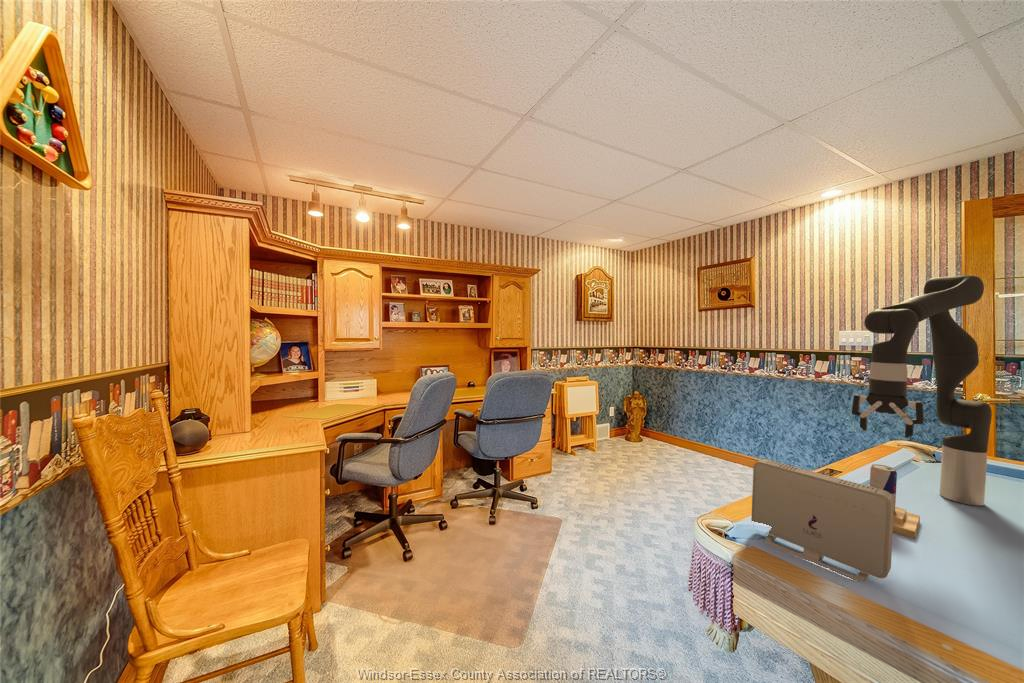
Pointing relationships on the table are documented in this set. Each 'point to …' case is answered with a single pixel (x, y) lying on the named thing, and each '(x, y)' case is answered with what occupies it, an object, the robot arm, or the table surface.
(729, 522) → the table surface
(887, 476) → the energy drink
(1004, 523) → the table surface
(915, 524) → the plinth
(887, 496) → the network device
